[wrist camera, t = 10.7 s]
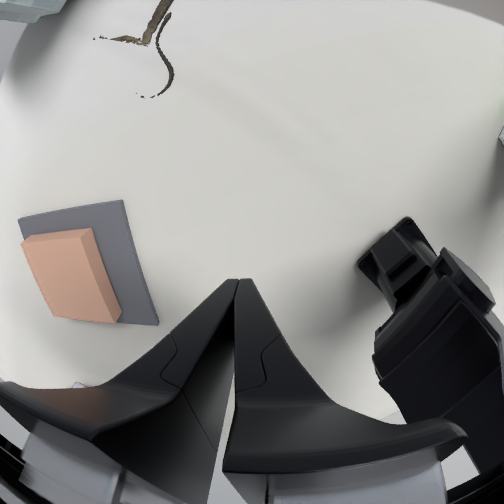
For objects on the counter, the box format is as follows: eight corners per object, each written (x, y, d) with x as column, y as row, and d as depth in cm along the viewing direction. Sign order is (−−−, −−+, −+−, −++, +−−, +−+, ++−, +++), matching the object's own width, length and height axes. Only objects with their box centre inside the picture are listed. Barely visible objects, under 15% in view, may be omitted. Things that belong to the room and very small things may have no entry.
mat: (122, 199, 22) (119, 202, 21) (159, 321, 29) (157, 325, 28) (20, 218, 23) (17, 220, 23) (60, 312, 30) (58, 315, 30)
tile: (80, 237, 21) (20, 243, 22) (114, 323, 25) (53, 316, 26) (93, 226, 23) (32, 234, 24) (123, 309, 27) (62, 304, 28)
